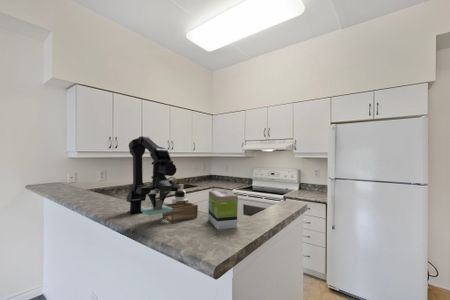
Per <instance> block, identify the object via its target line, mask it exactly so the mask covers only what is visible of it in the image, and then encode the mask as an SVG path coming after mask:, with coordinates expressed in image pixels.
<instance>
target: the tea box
mask: <svg viewBox="0 0 450 300" xmlns="http://www.w3.org/2000/svg"><path fill="white" fill-rule="evenodd" d="M238 198H239V197H238V195H236V194H234V193H233V192H230V191H228V190H212V191H211V190H210V191H208V209H207V210H208V212H207V213H208V216H207V217H208V218H207V219H208V221H209V222H210V223H211V224H212V225H213V226H214V227H215V228H217V229H216V230H227V229H234V228H238V202H239V200H238Z"/></svg>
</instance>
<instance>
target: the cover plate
mask: <svg viewBox="0 0 450 300" xmlns="http://www.w3.org/2000/svg"><path fill="white" fill-rule="evenodd" d="M171 211H173V208H171V207H168V206H165V204H163V205H162V200H160V198H159V199H155V208H153V206H151V207H143V208H141V212H143V214H144V215H145V214H146V215H147V216H154V215H158V214H159V215H160V214H163V213H166V212H171Z"/></svg>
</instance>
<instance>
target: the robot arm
mask: <svg viewBox="0 0 450 300" xmlns="http://www.w3.org/2000/svg"><path fill="white" fill-rule="evenodd" d="M128 149H129V153H130V155H131V156H132V184H131V186H130V187H129V192H128V194H127V196H126V202H127V203H129V210H127V213H129V214H130V215H135V214H134V213H136V214H141V213H140V212H141V209H142V202H144V201H146V198H147V196H148V199H149V200H150V203H151V205H152V207H153V208H155V200H156V197H157V193H156V192H159V199H160V200H162V206H163V205H164V202H165V200H166V197H167V196H168V195H169V194H171V191H172V192H175V191H178V190H179V186H178V185H177V184H175V181H174V180H168V179H167V176H168V177H172V176H174V175H175V174H176V173H177V170H178V169H177V167H176V165H175V164H174V161H173V160H172V158H171V156H170V153H169V150H168V149H167V148H166V147H162V146H159V145H157V144H156V143H155V142H154V141H153V140H152V139H151V138H150V137H149V136H143V135H142V136H139V137H138V138H134V139H132V140H131V141H129V143H128ZM146 150H147V151H148V152H149V153H150V154H149V156H150V158H151V159H152V160H153V161H152V162H151V165H152V166H153V167H152V175H151V177H150V178H151V179H152V181H151V182H152V184H150V187H149V186H147V185H146V184H145V183H144V181H143V178H144V177H143V156H144V154H145V153H146Z"/></svg>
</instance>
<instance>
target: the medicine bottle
mask: <svg viewBox="0 0 450 300" xmlns="http://www.w3.org/2000/svg"><path fill="white" fill-rule="evenodd" d="M186 195H187V193H186V191H185V190H184V189H178V191H174V198H172V199H171V204H172V203H179V202H189V199H187V198H186Z"/></svg>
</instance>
